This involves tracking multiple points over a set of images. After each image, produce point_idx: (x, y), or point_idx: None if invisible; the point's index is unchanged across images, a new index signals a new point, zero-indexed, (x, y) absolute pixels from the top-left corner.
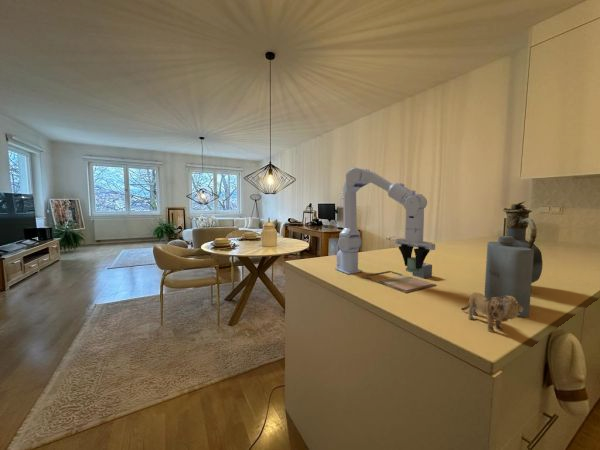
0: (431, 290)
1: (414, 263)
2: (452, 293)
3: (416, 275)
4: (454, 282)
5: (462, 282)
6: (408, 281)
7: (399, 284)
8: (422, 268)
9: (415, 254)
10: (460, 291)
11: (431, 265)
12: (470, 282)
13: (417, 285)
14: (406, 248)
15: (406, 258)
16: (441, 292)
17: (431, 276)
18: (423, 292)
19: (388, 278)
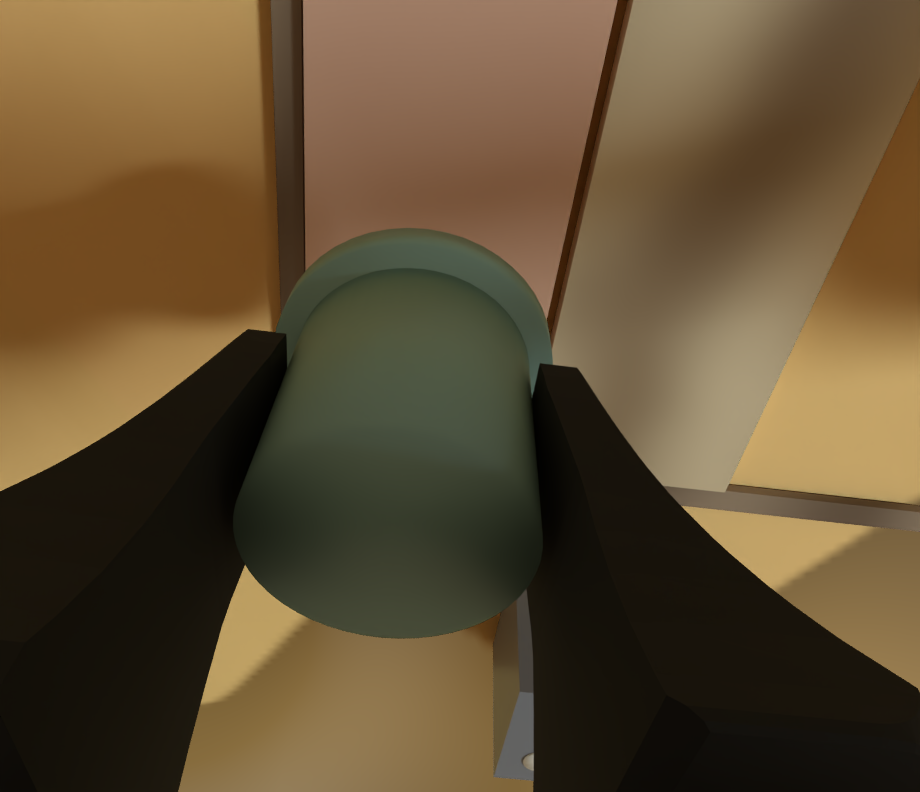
0: (188, 259)
1: (297, 388)
2: (16, 348)
3: None
4: (265, 632)
5: (232, 668)
6: (544, 305)
7: (560, 54)
8: None
9: (120, 533)
10: (43, 460)
11: (495, 762)
12: (202, 700)
13: None
14: (605, 778)
15: (562, 489)
16: (84, 285)
17: (494, 645)
18: (172, 90)
19: (850, 199)
